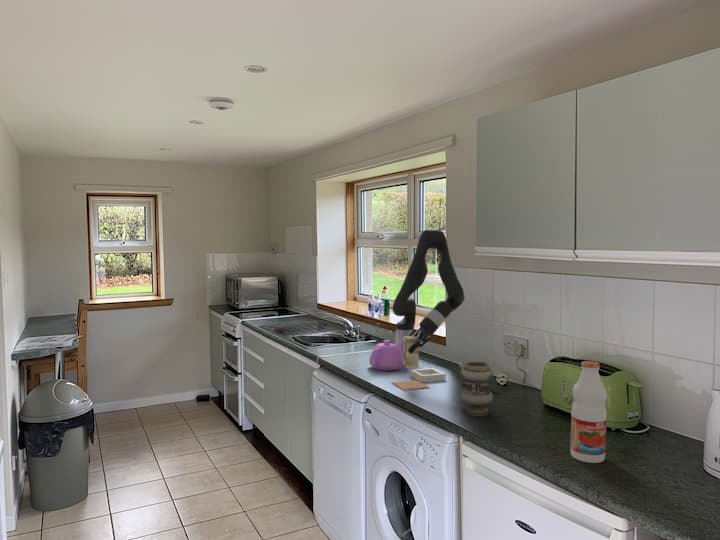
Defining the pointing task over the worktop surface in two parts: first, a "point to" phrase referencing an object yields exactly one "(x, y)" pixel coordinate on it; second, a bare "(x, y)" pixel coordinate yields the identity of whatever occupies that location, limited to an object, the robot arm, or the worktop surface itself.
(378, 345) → the teapot
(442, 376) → the collar frame
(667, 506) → the worktop surface
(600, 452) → the fruit juice
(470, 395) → the apothecary jar
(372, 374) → the worktop surface
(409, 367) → the beech block
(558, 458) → the worktop surface
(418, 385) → the mat
